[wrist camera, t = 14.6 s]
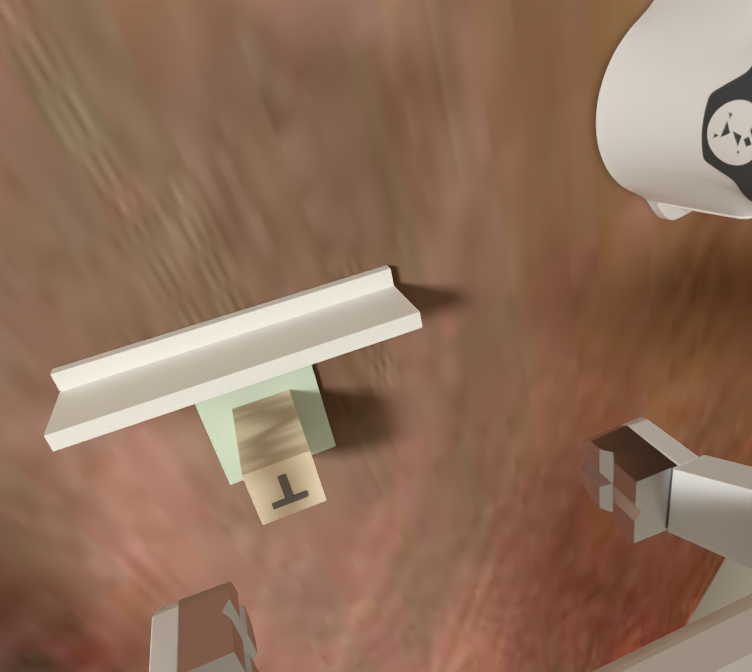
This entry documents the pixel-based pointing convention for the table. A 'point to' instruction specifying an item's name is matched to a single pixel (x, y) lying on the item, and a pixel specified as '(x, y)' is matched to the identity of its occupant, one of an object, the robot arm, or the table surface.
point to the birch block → (276, 457)
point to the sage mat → (220, 408)
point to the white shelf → (225, 355)
